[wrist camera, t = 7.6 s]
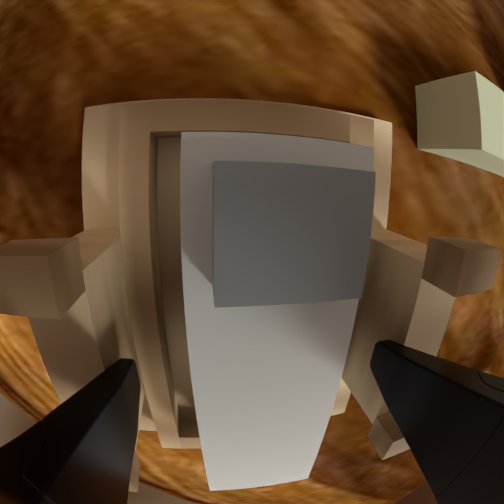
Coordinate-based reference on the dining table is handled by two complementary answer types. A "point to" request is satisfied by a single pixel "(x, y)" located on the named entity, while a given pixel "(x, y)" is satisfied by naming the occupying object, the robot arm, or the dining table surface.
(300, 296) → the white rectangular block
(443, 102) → the pale green rectangular block
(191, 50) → the dining table surface
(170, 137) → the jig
